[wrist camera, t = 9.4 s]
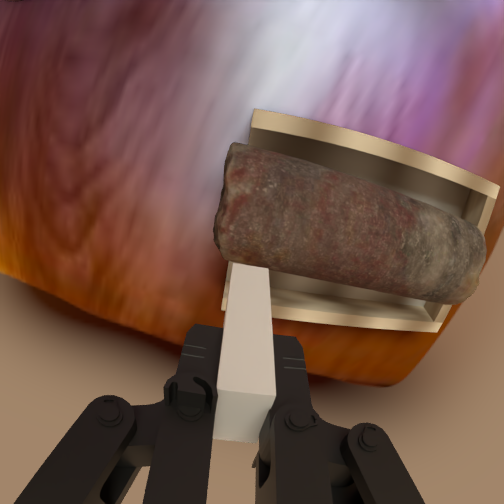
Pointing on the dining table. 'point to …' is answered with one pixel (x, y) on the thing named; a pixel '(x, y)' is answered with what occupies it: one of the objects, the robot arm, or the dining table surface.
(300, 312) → the tray
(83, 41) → the dining table surface
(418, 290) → the candle
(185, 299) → the dining table surface
